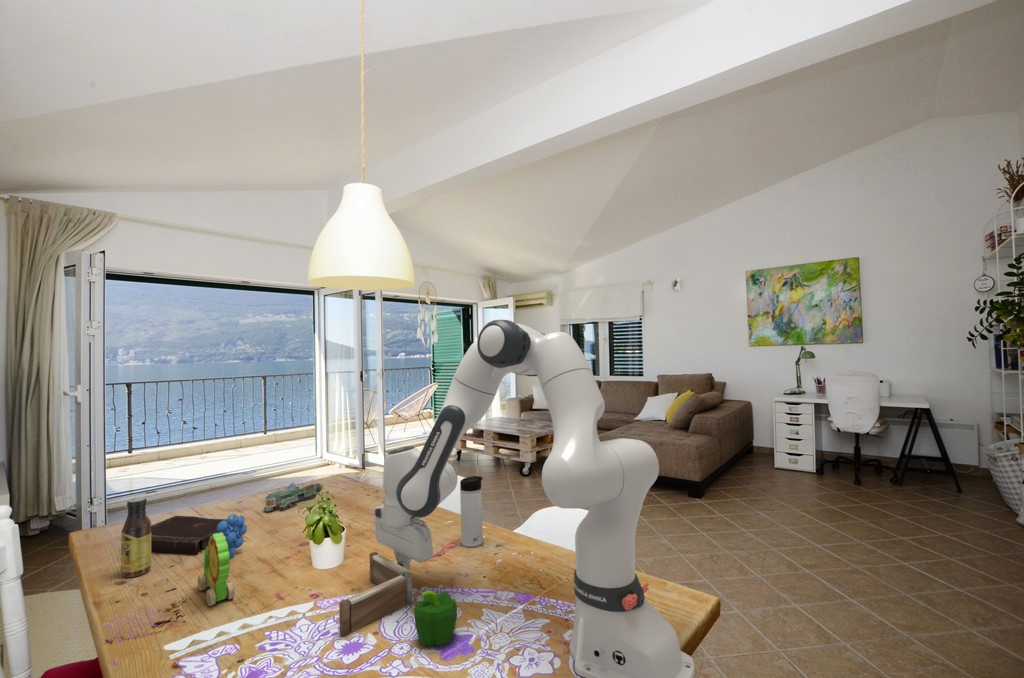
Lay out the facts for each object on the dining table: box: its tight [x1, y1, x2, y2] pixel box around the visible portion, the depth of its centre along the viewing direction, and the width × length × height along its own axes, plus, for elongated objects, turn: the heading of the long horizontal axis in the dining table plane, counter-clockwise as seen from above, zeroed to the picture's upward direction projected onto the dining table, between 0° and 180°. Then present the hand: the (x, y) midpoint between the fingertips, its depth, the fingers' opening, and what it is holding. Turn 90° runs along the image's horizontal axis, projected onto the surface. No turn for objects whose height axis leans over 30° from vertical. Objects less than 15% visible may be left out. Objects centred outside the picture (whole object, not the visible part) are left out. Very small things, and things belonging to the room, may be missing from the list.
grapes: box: [214, 513, 248, 559], centre depth 133 cm, size 12×7×12 cm, turn 161°
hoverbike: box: [263, 479, 324, 514], centre depth 181 cm, size 10×25×8 cm, turn 151°
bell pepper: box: [413, 590, 458, 648], centre depth 92 cm, size 8×8×10 cm
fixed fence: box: [338, 572, 413, 638], centre depth 100 cm, size 2×17×7 cm, turn 137°
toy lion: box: [197, 532, 235, 607], centre depth 112 cm, size 16×5×15 cm, turn 44°
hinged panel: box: [369, 551, 410, 586], centre depth 111 cm, size 2×15×7 cm, turn 46°
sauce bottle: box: [120, 496, 152, 579], centre depth 125 cm, size 7×6×20 cm
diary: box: [151, 515, 227, 556], centre depth 146 cm, size 19×25×5 cm
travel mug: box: [459, 475, 484, 549], centre depth 137 cm, size 6×7×20 cm
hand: (403, 569), depth 115 cm, fingers closed
